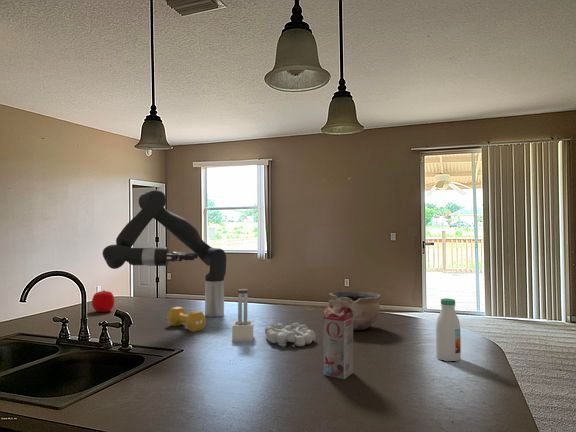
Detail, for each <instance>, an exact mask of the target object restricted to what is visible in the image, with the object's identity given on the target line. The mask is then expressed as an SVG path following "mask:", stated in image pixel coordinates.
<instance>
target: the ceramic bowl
mask: <svg viewBox="0 0 576 432" xmlns="http://www.w3.org/2000/svg"><path fill="white" fill-rule="evenodd" d="M329 297H330V298H331V299H330V300H335V301H344V302H349V308H350V309H351V310H352V311H353V331H361V330H365V329H366V330H367V329H368V328H370V327H371V326H373V324H374V323H375V322H376V320H377V319H378V317H379V315H380V312H381V307H380V299H381V295H380V294H378V293H375V292H366V291H356V290H355V291H353V290H351V291H344V290H343V291H334V292H330V293H329Z"/></svg>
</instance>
